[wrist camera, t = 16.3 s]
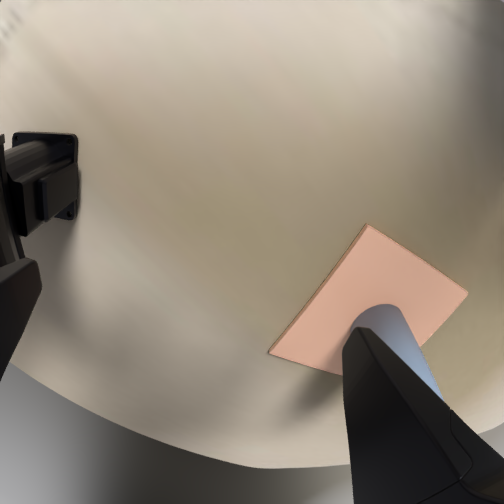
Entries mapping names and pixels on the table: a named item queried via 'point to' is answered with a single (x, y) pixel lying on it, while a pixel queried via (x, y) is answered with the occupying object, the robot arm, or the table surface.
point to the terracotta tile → (368, 300)
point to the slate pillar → (397, 338)
